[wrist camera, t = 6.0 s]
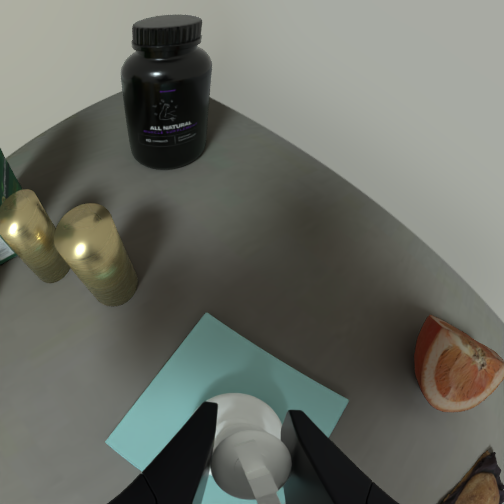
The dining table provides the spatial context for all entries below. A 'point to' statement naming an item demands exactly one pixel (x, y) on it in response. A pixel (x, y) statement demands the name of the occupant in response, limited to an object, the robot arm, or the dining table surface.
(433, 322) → the fruit slice
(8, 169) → the coffee box
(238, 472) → the chess piece
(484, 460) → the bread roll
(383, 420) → the dining table surface
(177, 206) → the dining table surface
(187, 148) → the supplement bottle
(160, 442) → the felt pad
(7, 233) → the cylinder
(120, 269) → the cylinder
